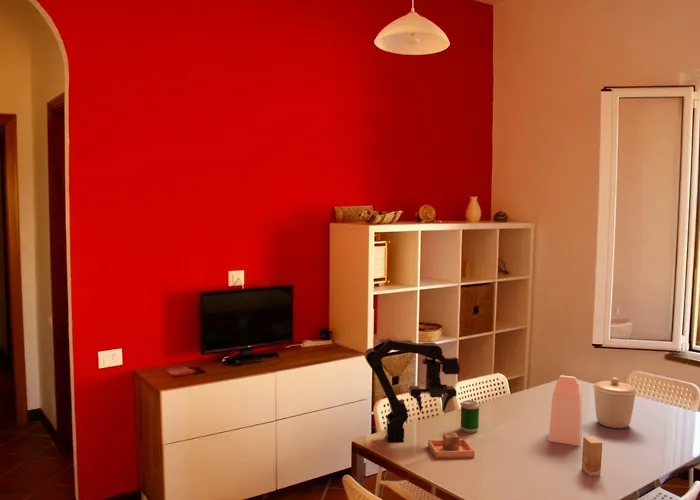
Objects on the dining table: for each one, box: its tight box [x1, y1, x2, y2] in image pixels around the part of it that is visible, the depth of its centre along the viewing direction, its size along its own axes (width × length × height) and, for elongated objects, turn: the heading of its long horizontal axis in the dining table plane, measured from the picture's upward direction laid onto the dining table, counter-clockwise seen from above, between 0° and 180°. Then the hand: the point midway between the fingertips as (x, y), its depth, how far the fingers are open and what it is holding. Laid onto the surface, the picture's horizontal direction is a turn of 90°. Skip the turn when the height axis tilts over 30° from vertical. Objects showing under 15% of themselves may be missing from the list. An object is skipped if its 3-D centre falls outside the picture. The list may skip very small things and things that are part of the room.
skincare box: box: [581, 435, 603, 477], centre depth 213 cm, size 6×4×12 cm
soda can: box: [460, 399, 480, 434], centre depth 254 cm, size 8×8×12 cm
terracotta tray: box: [427, 438, 476, 460], centre depth 231 cm, size 15×12×2 cm
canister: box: [591, 376, 638, 429], centre depth 263 cm, size 18×18×21 cm
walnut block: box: [442, 432, 460, 451], centre depth 230 cm, size 5×5×6 cm
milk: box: [548, 375, 583, 447], centre depth 245 cm, size 12×12×26 cm
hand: (431, 411), depth 243 cm, fingers open, 9 cm apart
